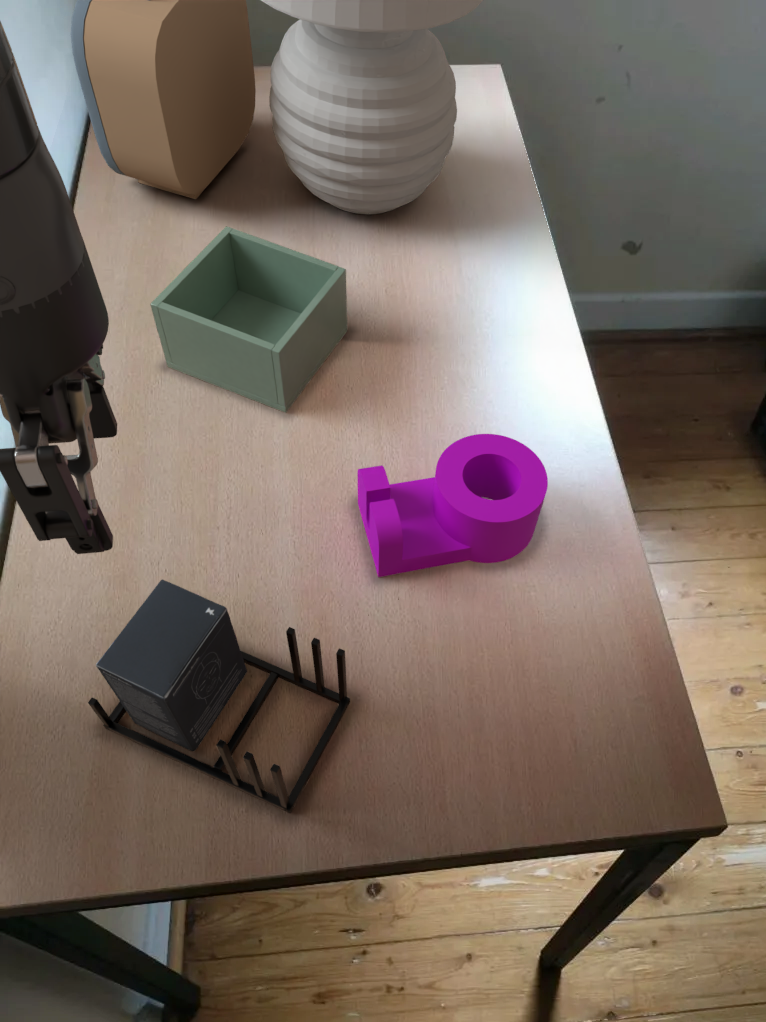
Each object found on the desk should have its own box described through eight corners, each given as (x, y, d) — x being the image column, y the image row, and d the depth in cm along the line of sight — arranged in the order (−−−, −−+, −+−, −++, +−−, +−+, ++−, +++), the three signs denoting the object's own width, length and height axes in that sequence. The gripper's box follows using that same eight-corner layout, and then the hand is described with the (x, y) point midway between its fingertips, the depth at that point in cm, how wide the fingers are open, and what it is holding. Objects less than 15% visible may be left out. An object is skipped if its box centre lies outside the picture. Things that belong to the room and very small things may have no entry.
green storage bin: (167, 366, 82) (149, 303, 75) (236, 289, 89) (226, 225, 82) (286, 413, 80) (278, 352, 73) (347, 330, 87) (346, 268, 80)
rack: (105, 728, 62) (68, 679, 54) (177, 626, 67) (153, 567, 59) (290, 814, 60) (279, 774, 52) (350, 702, 65) (348, 651, 57)
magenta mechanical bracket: (516, 470, 79) (527, 426, 74) (549, 552, 74) (563, 511, 69) (356, 497, 76) (355, 452, 70) (380, 584, 71) (381, 544, 66)
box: (189, 644, 66) (161, 575, 57) (249, 672, 65) (230, 607, 56) (131, 724, 62) (91, 664, 53) (194, 755, 62) (165, 699, 52)
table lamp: (252, 246, 93) (185, -241, 59) (269, 124, 106) (223, -334, 71) (469, 258, 95) (527, -203, 61) (460, 137, 108) (504, -299, 74)
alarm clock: (193, 115, 105) (157, -91, 87) (261, 134, 104) (238, -70, 86) (111, 201, 95) (49, -13, 76) (185, 222, 94) (141, 12, 75)
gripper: (-83, 151, 37) (40, 404, 51) (-141, 372, 30) (19, 596, 44) (90, 149, 38) (163, 397, 52) (72, 361, 31) (163, 582, 45)
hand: (97, 488), depth 48 cm, fingers open, 8 cm apart
